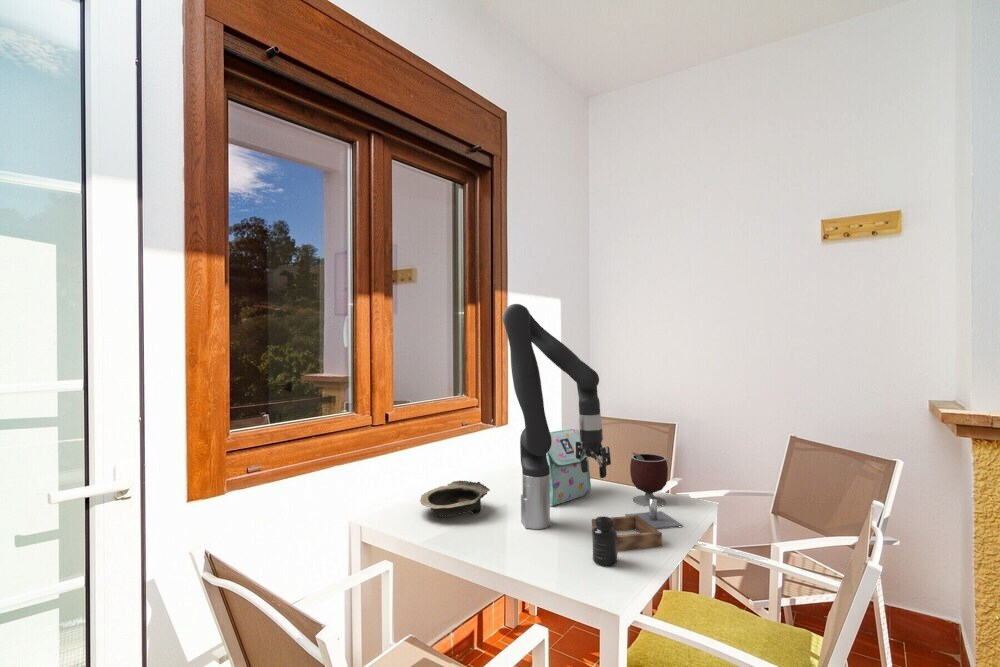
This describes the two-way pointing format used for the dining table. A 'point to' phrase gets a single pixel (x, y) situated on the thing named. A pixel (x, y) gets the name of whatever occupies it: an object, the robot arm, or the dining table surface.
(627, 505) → the dining table surface
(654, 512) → the steel post
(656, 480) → the mate gourd
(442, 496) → the stone bowl
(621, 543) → the walnut collar
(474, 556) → the dining table surface
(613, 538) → the supplement bottle
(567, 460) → the lunch bag
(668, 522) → the slate plate
